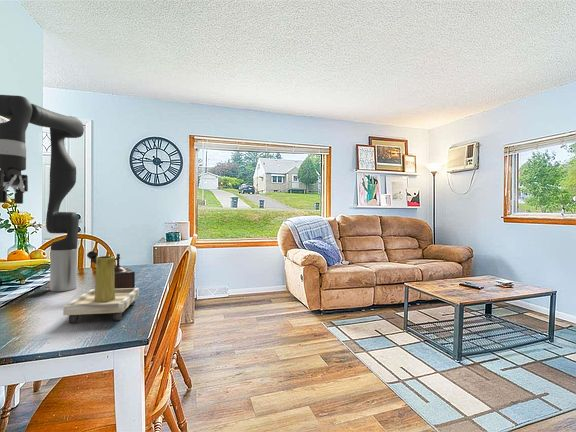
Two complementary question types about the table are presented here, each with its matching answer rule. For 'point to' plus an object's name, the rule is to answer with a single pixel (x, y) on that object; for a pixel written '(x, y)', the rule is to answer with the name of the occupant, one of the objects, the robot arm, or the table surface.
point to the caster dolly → (100, 304)
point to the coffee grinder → (118, 272)
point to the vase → (105, 279)
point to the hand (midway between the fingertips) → (10, 203)
